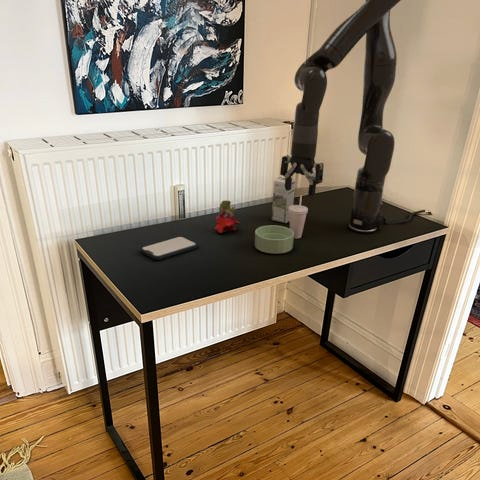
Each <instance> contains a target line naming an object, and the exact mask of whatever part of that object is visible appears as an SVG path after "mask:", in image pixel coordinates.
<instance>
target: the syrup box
mask: <svg viewBox="0 0 480 480" xmlns="http://www.w3.org/2000/svg"><path fill="white" fill-rule="evenodd" d="M272 190H273V191H272V209H271V221H274V222H278V223H283V224H287V223H290V221H289V211H288V208H289V207H290V206H292V205H294V200H295V191H296V178H295V179H294V178H292V185H291V190H289V191H287V190H286V188H285V177H284V176H280V177H279V176H278V177H277V178H275V179H274V180H273V189H272Z"/></svg>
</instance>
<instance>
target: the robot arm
mask: <svg viewBox="0 0 480 480" xmlns="http://www.w3.org/2000/svg"><path fill="white" fill-rule="evenodd" d="M401 1H402V0H365V2H364V3H363V4H362V5H361V6H360V7H359V8H358V9H357V10H356V11H354V13H352V14H351V15H350V16H349V17H347V18H346V19H345V20H344V21H343V22H342V23H340V24H339V25H338V26H337V27H336V28H335V29H334V30H333V31H332V33H331V34H330V35H329V36H328V38H326V40H325V41H324V42H323V44H322V45H321V46H320V48H319V49H318V50H316V51H315V52H313V53H312V54H311V55H310V56H309V57H308V58H306V60H305V61H304V62H302V63H301V64H300V66H299V67H298V68H297V70H296V72H295V74H294V79H293V80H294V85H295V87H296V88H297V89H298V90H299V91H301V92H303V93H302V98H301V101H299V102H298V103H297V104H296V106H295V112H294V123H293V127H292V128H293V129H292V135H291V145H290V146H291V147H290V155H289V154H287V155H284V156H282V157H281V163H280V171H279V175H280V176H282V177H284V178H285V188H286V190H287V191H289V190H291V185H292V179H293V176H294V175H295V174H299V175H301V176H305V178H306V180H307V181H308V183H309V184H308V192H307V197H314V195H315V194H316V189H317V185H319V184H322V183H323V181H324V167H325V166H324V165H325V164H324V163H323V162H320V163H319V162H316V161H315V158H316V154H317V145H318V138H319V137H318V136H319V121H320V120H319V119H320V111H321V107H322V104H323V101H324V99H325V95H326V91H327V89H328V88H327V87H328V76H327V72H328V71H330V70H333V69H336V68H338V66H339V65H340V64H341V63H342V62H343V61H344V60H345V58H347V56H348V55H349V54H350V52H352V50H353V48H355V47H356V45H357V44H358V43H359V42H360V41H361V39H362V38H363V37H364V36H365V49H364V51H365V53H364V63H363V83H362V85H363V87H362V88H363V89H362V102H361V103H362V104H361V113H360V114H361V115H360V122H359V128H358V132H357V133H358V134H357V147H358V149H359V151H360V152H361V153H362V154H363V155H364V156H365V158H364V164H363V166H362V167H359V168H358V169H357V171H356V177H355V185H354V192H353V197H352V205H351V211H350V219H349V223H348V229H350V230H351V231H354V232H356V233H359V234H360V233H361V234H372V233H375V232H376V231H379V230H380V224H381V223H383V224H384V225H400V224H405V223H407V222H410V221H411V220H412V217H413V216H414V215H418V214H422V213H425V214H428V215H430V216H431V215H433V213H432V212H431V211H430V212H425V210H426V209H420V210H416V211H414V212H413V211H412V212H411V213H409V215H408V217H407V218H405V219H403V220H399V221H392V222H391V221H387V217H386V216H385V215H384V214H383V207H384V202H382V199H383V195H384V187H385V181H386V177H387V175H388V173H389V171H390V168H391V164H392V160H393V156H394V151H395V142H396V141H395V137H394V135H393V133H392V132H391V131H389V130H387V129H385V128H384V126H383V125H384V124H383V123H384V111H385V106H386V103H387V101H388V98H389V96H390V94H391V92H392V90H393V88H394V85H395V81H396V73H397V63H398V62H397V61H398V55H397V47H396V45H395V41H394V37H393V33H392V30H391V21H390V20H391V10H392V9H393V8H395V7H396V6H397V4H399V3H400V2H401ZM289 164H290V165H291V167H290V168H289Z"/></svg>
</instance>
